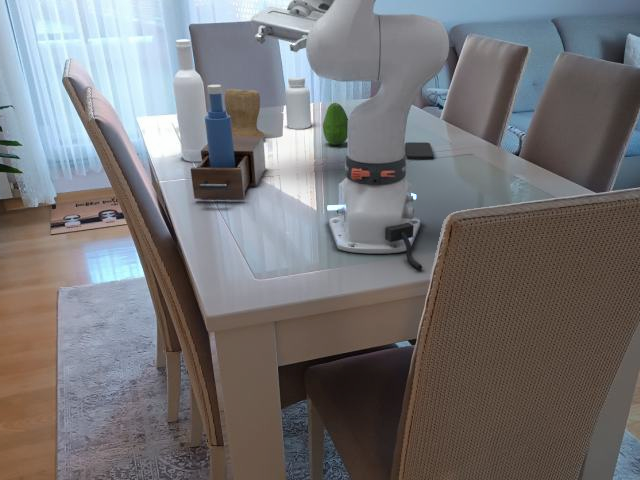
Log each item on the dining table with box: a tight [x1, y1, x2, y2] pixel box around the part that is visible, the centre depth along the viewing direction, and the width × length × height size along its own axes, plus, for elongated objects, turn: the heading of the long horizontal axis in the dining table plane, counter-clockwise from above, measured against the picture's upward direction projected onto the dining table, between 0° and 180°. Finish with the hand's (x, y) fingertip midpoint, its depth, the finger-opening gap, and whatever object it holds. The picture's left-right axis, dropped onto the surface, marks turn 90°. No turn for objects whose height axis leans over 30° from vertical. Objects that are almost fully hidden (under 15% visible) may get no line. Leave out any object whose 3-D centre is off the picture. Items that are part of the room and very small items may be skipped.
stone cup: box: [223, 88, 266, 139], centre depth 192 cm, size 15×12×15 cm
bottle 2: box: [205, 84, 235, 168], centre depth 145 cm, size 6×6×22 cm
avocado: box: [322, 102, 349, 146], centre depth 188 cm, size 8×8×12 cm
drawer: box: [190, 154, 252, 200], centre depth 148 cm, size 18×11×7 cm, turn 177°
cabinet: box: [201, 136, 266, 188], centre depth 160 cm, size 15×13×9 cm
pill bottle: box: [284, 76, 312, 130], centre depth 208 cm, size 8×8×15 cm
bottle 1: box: [172, 38, 208, 163], centre depth 171 cm, size 8×8×30 cm
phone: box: [404, 141, 434, 160], centre depth 183 cm, size 7×1×15 cm
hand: (275, 44), depth 145 cm, fingers open, 8 cm apart
